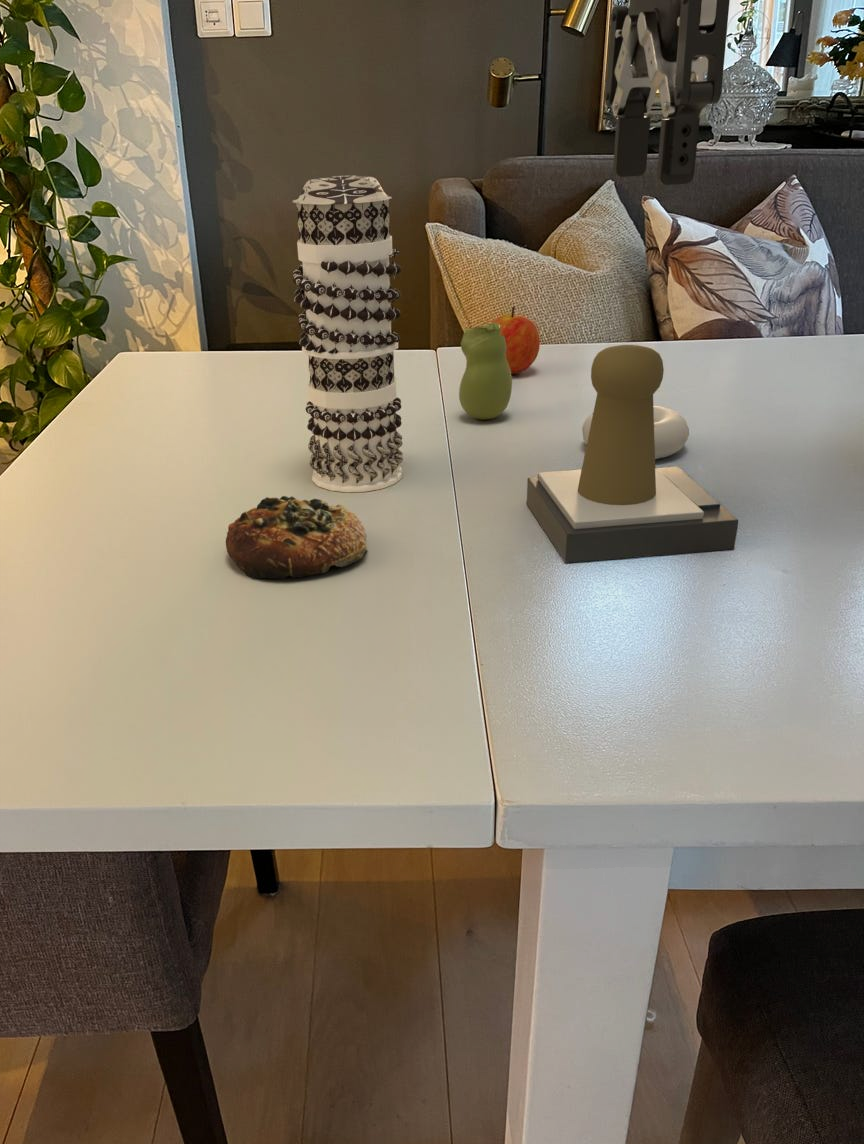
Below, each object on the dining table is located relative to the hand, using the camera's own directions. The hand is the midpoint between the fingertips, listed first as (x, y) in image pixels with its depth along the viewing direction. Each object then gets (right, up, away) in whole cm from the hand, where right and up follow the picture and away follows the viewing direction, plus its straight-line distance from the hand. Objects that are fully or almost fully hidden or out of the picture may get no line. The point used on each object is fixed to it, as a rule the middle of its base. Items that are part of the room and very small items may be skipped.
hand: (650, 179), depth 65 cm
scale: (+1, -22, +11) cm, 25 cm away
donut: (+6, -13, +27) cm, 31 cm away
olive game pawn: (0, -20, +10) cm, 22 cm away
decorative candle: (-21, -16, +24) cm, 35 cm away
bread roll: (-25, -25, +9) cm, 36 cm away
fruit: (-2, +2, +54) cm, 54 cm away
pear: (-7, -8, +38) cm, 39 cm away
